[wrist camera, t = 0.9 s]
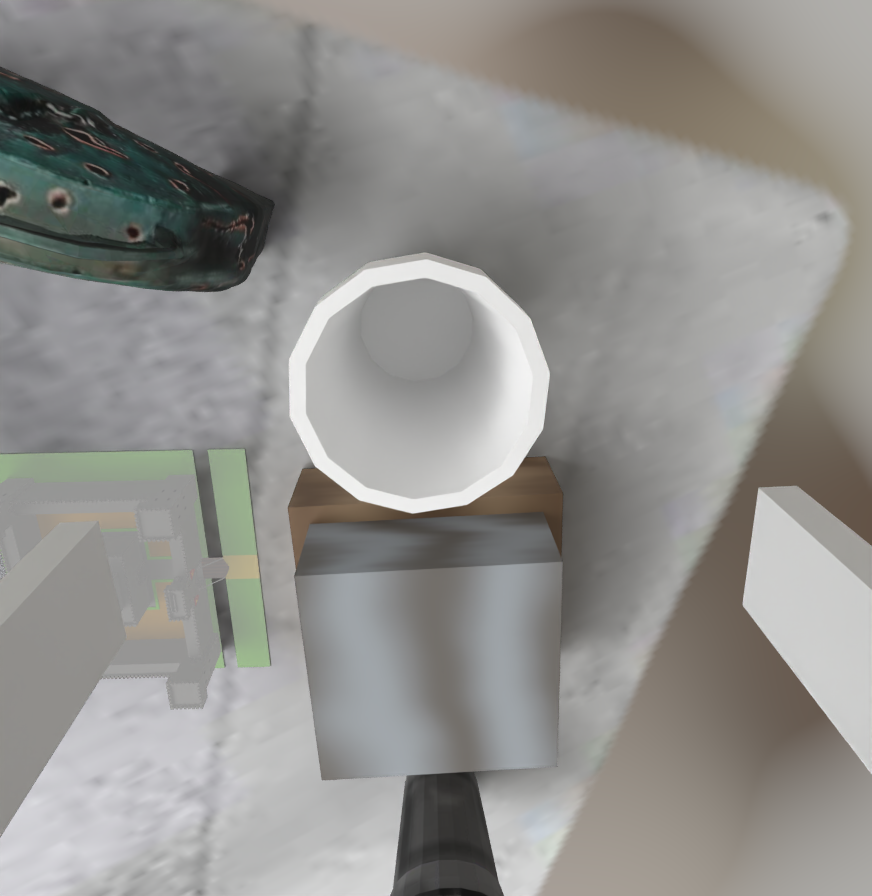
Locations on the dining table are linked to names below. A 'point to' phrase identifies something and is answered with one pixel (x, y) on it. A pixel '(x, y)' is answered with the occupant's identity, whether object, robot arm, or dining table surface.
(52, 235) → the green elephant statue
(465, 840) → the beverage cup
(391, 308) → the foam cup
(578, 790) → the dining table surface
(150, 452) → the castle model
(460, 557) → the block tower
